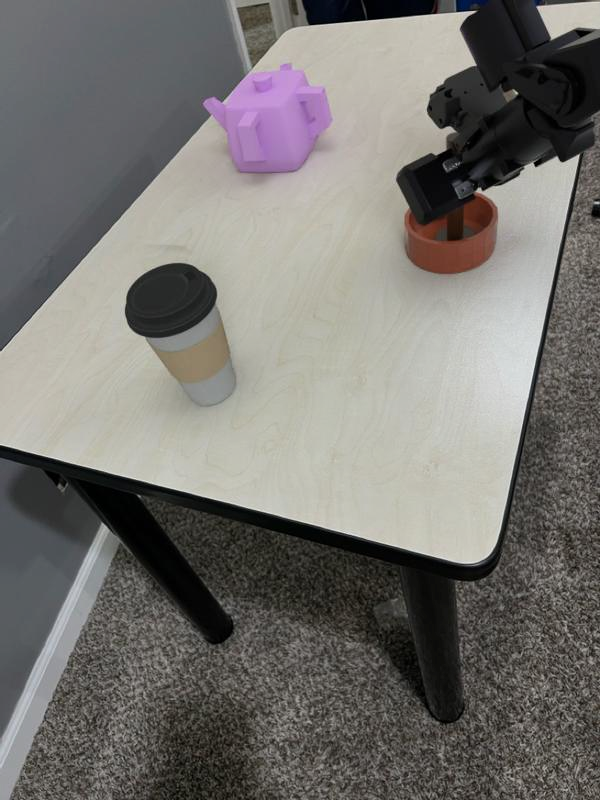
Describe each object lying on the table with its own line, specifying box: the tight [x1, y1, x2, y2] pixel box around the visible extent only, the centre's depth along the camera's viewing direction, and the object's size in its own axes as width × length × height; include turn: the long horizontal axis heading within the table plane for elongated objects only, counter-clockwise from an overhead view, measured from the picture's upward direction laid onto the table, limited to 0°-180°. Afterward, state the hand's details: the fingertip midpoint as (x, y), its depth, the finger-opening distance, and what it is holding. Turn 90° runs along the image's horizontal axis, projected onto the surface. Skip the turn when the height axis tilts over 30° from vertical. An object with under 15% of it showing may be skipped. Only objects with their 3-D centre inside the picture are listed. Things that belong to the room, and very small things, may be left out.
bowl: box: [403, 191, 499, 275], centre depth 75 cm, size 11×11×4 cm
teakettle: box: [202, 62, 334, 173], centre depth 96 cm, size 17×17×12 cm
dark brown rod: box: [435, 131, 476, 242], centre depth 70 cm, size 5×5×14 cm
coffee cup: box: [124, 262, 237, 407], centre depth 64 cm, size 9×9×15 cm
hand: (448, 189), depth 71 cm, fingers closed on dark brown rod
